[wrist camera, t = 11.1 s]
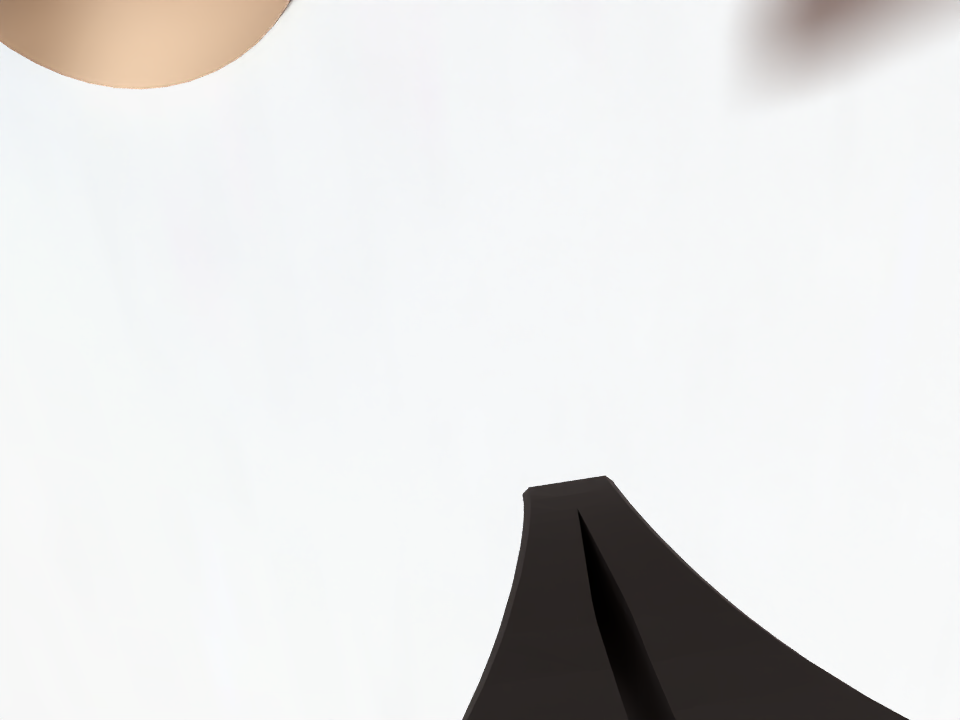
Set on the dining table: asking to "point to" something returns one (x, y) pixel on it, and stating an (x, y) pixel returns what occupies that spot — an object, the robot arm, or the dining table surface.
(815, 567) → the dining table surface
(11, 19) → the cork coaster
